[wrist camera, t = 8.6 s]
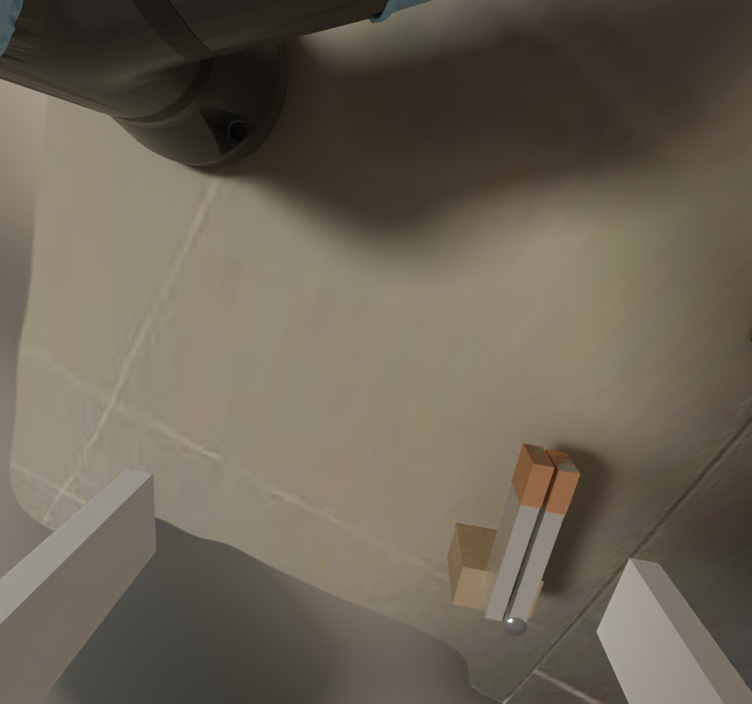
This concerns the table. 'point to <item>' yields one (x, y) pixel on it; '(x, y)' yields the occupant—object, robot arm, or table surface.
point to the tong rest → (500, 541)
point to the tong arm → (541, 541)
